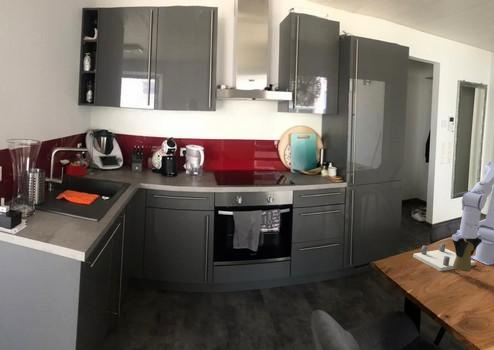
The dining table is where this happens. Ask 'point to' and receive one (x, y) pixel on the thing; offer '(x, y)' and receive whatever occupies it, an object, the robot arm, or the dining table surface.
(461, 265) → the olive rounded cylinder
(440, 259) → the peg board
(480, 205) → the robot arm
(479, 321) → the dining table surface
